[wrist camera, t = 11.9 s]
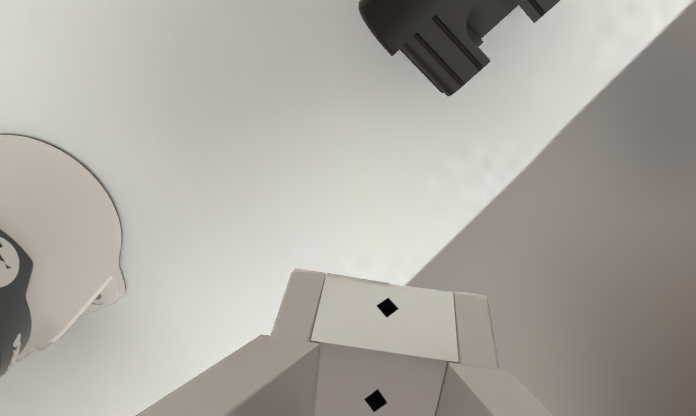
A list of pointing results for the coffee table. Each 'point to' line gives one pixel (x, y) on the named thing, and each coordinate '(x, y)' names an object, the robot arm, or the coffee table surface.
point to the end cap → (442, 33)
